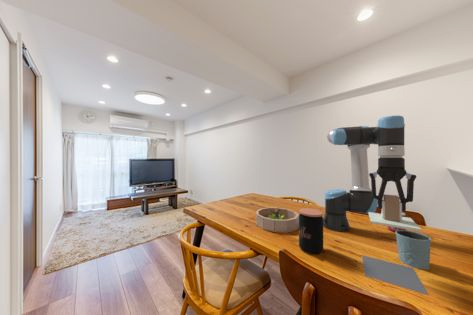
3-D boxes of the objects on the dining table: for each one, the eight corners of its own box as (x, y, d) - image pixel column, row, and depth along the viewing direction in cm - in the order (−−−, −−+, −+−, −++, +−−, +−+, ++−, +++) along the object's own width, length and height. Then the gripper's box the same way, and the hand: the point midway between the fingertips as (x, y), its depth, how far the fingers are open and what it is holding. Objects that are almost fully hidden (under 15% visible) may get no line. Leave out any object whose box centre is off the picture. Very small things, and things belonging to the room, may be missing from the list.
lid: (371, 223, 63) (371, 196, 63) (368, 213, 74) (368, 191, 74) (421, 231, 56) (421, 201, 56) (410, 219, 66) (410, 194, 67)
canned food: (409, 234, 97) (409, 215, 98) (393, 233, 99) (393, 214, 99) (399, 228, 105) (399, 211, 105) (384, 227, 107) (384, 210, 107)
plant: (257, 228, 107) (257, 210, 107) (265, 218, 125) (265, 203, 125) (290, 233, 99) (290, 214, 99) (293, 222, 117) (293, 206, 117)
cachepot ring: (249, 225, 109) (249, 214, 110) (266, 214, 132) (266, 205, 132) (291, 236, 94) (291, 223, 95) (302, 221, 117) (302, 211, 117)
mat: (364, 277, 62) (364, 275, 62) (362, 256, 75) (362, 255, 75) (429, 297, 53) (429, 295, 53) (413, 269, 66) (412, 267, 66)
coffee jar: (295, 244, 86) (295, 208, 86) (315, 243, 87) (315, 207, 87) (305, 256, 75) (305, 215, 75) (328, 254, 76) (328, 214, 76)
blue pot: (436, 275, 63) (436, 242, 63) (399, 266, 68) (399, 236, 68) (425, 261, 71) (424, 232, 72) (393, 254, 77) (392, 227, 77)
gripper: (363, 157, 67) (363, 216, 67) (426, 156, 57) (427, 226, 57) (362, 157, 73) (362, 211, 73) (419, 157, 63) (420, 219, 63)
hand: (391, 218), depth 65 cm, fingers closed on lid, 4 cm apart
